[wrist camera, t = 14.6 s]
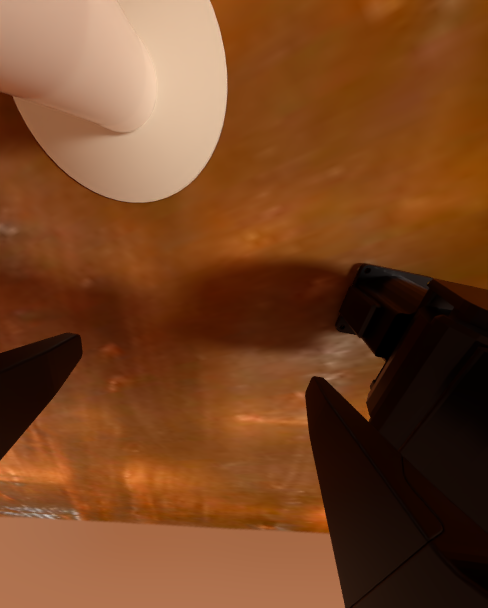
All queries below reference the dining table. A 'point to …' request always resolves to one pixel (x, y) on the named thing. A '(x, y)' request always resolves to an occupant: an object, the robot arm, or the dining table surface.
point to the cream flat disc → (164, 119)
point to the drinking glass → (77, 60)
